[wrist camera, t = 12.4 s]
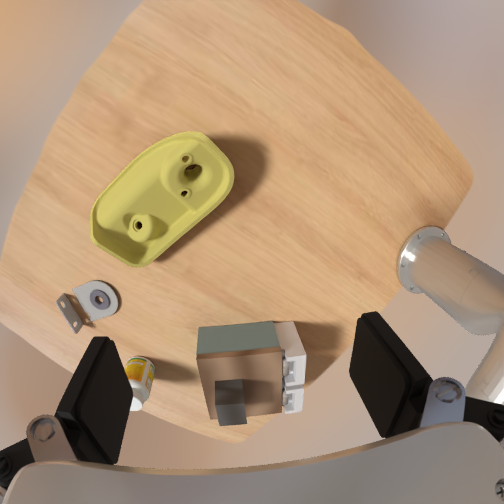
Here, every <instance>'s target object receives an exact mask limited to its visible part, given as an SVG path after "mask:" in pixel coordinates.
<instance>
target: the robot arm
mask: <svg viewBox="0 0 504 504" xmlns="http://www.w3.org/2000/svg"><path fill="white" fill-rule="evenodd" d="M397 275H398V279H399V281H400V283H401V284H402V286H403V287H404V288H405V289H407V290H408V291H409V292H412V293H418V294H419V293H425V294H426V295H427V296H428V297H429V298H430V299H432V300H433V301H434V302H435V303H436V304H437V305H439V306H440V307H441V308H442V309H443V310H444V311H445V312H446V313H448V314H449V315H450V316H451V317H452V318H453V319H454V320H455V321H457V322H458V323H459V324H460V325H461V326H462V327H463V328H464V329H465V330H467V331H468V332H470V333H472V334H475V335H489V334H494V333H496V337H495V339H494V341H493V343H492V344H491V347H490V348H489V350H488V352H487V354H486V355H485V357H484V358H483V360H482V361H481V363H480V365H479V366H478V368H477V369H476V371H475V372H474V374H473V375H472V377H471V379H470V380H469V382H468V384H467V386H466V388H465V389H464V387H463V385H462V384H461V383H460V382H459V381H457V380H455V379H452V378H449V377H441V378H438V379H436V380H434V381H433V380H432V378H431V377H430V375H429V374H428V373H427V372H426V370H425V369H424V368H423V367H422V365H421V364H420V363H419V362H418V360H417V359H416V358H415V357H414V355H413V354H412V353H411V352H410V350H409V349H408V348H407V347H406V345H405V344H404V343H403V342H402V340H401V339H400V338H399V337H398V336H397V334H396V333H395V332H394V331H393V330H392V328H391V327H390V326H389V325H388V324H387V323H386V321H385V320H384V319H383V318H382V317H381V315H380V314H379V313H378V312H376V311H375V312H369V313H363V314H362V316H361V318H358V320H357V326H356V332H355V339H354V345H353V351H352V357H351V362H350V368H349V373H350V377H351V379H352V381H353V383H354V385H355V387H356V389H357V391H358V393H359V395H360V397H361V399H362V400H363V403H364V404H365V406H366V408H367V410H368V412H369V414H370V416H371V418H372V420H373V422H374V424H375V426H376V428H377V430H378V432H379V434H380V436H381V437H382V438H384V437H385V438H386V439H383V440H380V441H376V442H374V443H370V444H366V445H362V446H359V447H355V448H351V449H347V450H343V451H339V452H335V453H331V454H326V455H322V456H317V457H311V458H307V459H301V460H296V461H289V462H283V463H276V464H268V465H259V466H250V467H238V468H222V469H155V468H140V467H128V466H117V465H114V464H116V463H117V461H118V458H119V454H120V449H121V445H122V440H123V436H124V432H125V427H126V423H127V419H128V415H129V411H130V408H131V404H132V400H133V390H132V387H131V385H130V382H129V380H128V377H127V375H126V372H125V370H124V367H123V365H122V362H121V359H120V357H119V354H118V351H117V349H116V346H115V343H114V341H113V340H110V339H109V337H93V339H92V340H91V342H90V344H89V346H88V348H87V350H86V352H85V353H84V355H83V357H82V359H81V361H80V363H79V365H78V367H77V369H76V371H75V373H74V375H73V377H72V379H71V381H70V383H69V385H68V387H67V389H66V391H65V393H64V395H63V397H62V399H61V401H60V403H59V406H58V408H57V410H56V413H55V415H54V416H52V415H48V414H47V415H40V416H37V417H36V418H34V419H33V420H32V421H31V422H30V423H29V425H28V426H27V431H26V434H27V438H26V439H24V440H22V441H20V442H18V443H16V444H14V445H12V446H9V447H7V448H5V449H3V450H1V451H0V504H504V275H503V274H502V273H500V272H499V271H497V270H495V269H494V268H492V267H490V266H489V265H487V264H485V263H483V262H482V261H480V260H478V259H477V258H475V257H473V256H471V255H470V254H468V253H466V251H463V250H461V249H459V248H457V247H455V246H453V245H452V244H451V241H450V238H449V237H448V235H447V234H446V232H445V231H443V230H442V229H440V228H438V227H435V226H425V227H422V228H420V229H418V230H417V231H415V232H414V233H413V234H412V235H411V236H410V237H409V238H408V239H407V241H406V242H405V244H404V245H403V247H402V249H401V251H400V254H399V257H398V262H397Z"/></svg>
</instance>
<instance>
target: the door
mask: <svg viewBox="0 0 504 504" xmlns="http://www.w3.org/2000/svg"><path fill="white" fill-rule="evenodd" d="M196 360H197V365H198V369H199V374H200V378H201V382H202V387H203V391H204V395H205V399H206V403H207V407H208V411H209V415H210V419H218V421H219V425H220V426H228V425H240V424H247V420H246V417H249V416H258V415H267V414H274V413H281V412H282V404H283V405H287V404H288V397H289V394H286V392H285V388H283V389H282V375H283V376H287V375H289V362H287V360H286V357H285V356H284V357H282V349H281V346H280V347H272V348H263V349H254V350H244V351H233V352H221V353H207V354H197V358H196Z"/></svg>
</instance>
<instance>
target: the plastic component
mask: <svg viewBox="0 0 504 504" xmlns="http://www.w3.org/2000/svg"><path fill="white" fill-rule="evenodd" d="M193 164H198V165H197V166H196V167H195V168H193V169H190V170H188V169H186V168H187V167H188V166H190V165H193ZM233 182H234V169H233V166H232V164H231V162H230V161H229V159H228V158H227V157H226V155H225V154H224V153H223V152H222V151H221V150H220V149H219V148H218V147H217V146H216V145H215V144H214V143H213V142H212V141H211V140H210V139H209V138H208V137H207V136H205V135H204V134H202V133H200V132H193V131H191V132H182V133H178V134H175V135H172V136H169V137H167V138H164V139H162V140H160V141H158V142H157V143H155V144H153V145H152V146H150V147H149V148H147V149H146V150H144V151H143V152H142V153H141V154H139V155H138V156H137V157H136V158H135V159H134V160H132V161H131V162H130V163H129V164H128V165H127V166H126V168H125V169H124V170H123V171H122V172H121V173H120V174H119V175H118V176H117V177H116V178H115V179H114V180H113V181H112V182H111V183H110V184H109V185H108V187H107V188H106V189H105V190H104V191H103V192H102V193H101V194H100V195H99V197H98V198H97V200H96V201H95V203H94V205H93V207H92V210H91V214H90V235H91V240H92V242H93V243H94V244H95V245H96V246H97V247H99V248H101V249H102V250H104V251H105V252H107V253H109V254H110V255H112V256H114V257H115V258H117V259H118V260H120V261H122V262H123V263H125V264H127V265H128V266H131V267H144V266H147V265H149V264H150V263H152V262H153V261H154V260H155V259H156V258H157V257H158V256H160V255H161V254H162V253H163V252H164V251H165V250H166V249H168V248H169V247H170V246H171V245H172V244H173V243H175V242H176V241H177V240H178V239H179V238H180V237H182V236H183V235H184V234H185V233H186V232H188V231H189V230H190V229H191V228H192V227H194V226H195V225H196V224H197V223H198V222H200V221H201V220H202V219H203V218H204V217H206V216H207V215H208V214H209V213H210V212H211V211H213V210H214V209H215V208H216V207H217V206H218V205H219V204H220V203H221V202H222V201H223V200H224V199H225V198H226V196H227V195H228V194H229V192H230V190H231V188H232V186H233ZM183 191H187V193H186V194H181V192H183ZM139 221H140V222H141V223H142V228H141V229H139V228H138V227H137V224H138V222H139Z"/></svg>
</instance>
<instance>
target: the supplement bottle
mask: <svg viewBox="0 0 504 504" xmlns="http://www.w3.org/2000/svg"><path fill="white" fill-rule="evenodd" d="M125 372H126V375H127V377H128V380H129V382H130V385H131V387H132V390H133V400H132V404H131V408H130V410H131V411H138V410H140V409H142V406H143V403H144V402H145V401H146V400H147V399H148V398H149V395H150V391H151V386H152V382H153V378H154V374H155V367H154V365H153V363H152V362H151V361H150V360H148V359H147V358H144V357H140V356H135V357H132V358H130V359H129V360H128V362H127V364H126V367H125Z"/></svg>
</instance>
